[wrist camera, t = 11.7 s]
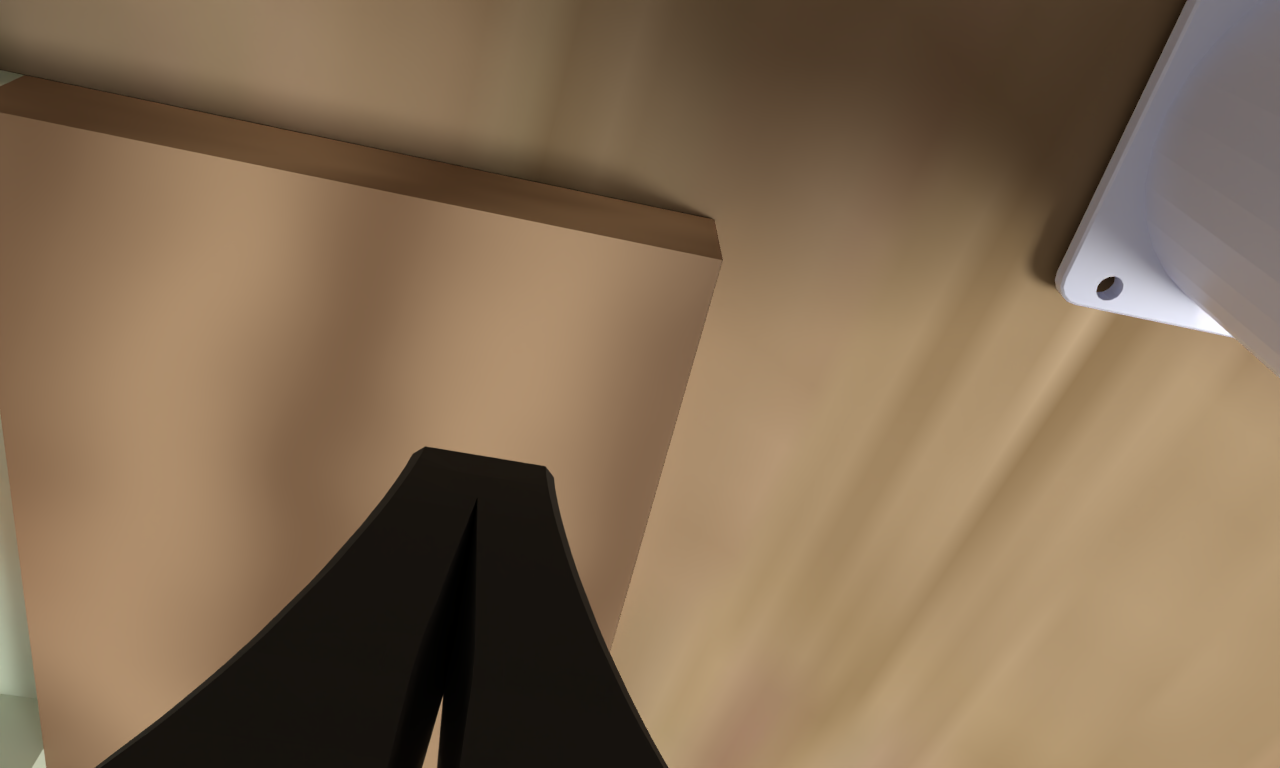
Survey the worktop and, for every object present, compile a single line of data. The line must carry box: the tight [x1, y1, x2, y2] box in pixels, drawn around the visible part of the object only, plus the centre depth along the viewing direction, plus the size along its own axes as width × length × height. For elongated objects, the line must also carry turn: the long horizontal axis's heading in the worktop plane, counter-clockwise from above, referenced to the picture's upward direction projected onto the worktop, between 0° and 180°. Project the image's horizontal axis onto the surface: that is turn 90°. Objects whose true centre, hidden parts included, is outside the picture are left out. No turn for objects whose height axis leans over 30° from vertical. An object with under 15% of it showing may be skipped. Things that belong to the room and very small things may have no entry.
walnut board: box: [0, 75, 723, 768], centre depth 22 cm, size 13×17×2 cm
